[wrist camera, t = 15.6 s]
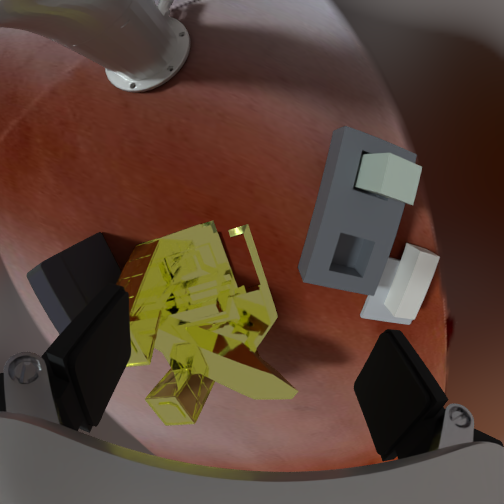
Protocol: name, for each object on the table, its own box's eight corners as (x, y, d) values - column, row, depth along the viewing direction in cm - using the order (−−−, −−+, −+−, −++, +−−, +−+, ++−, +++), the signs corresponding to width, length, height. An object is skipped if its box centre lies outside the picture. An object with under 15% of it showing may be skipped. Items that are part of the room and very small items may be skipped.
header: (333, 130, 32) (345, 125, 27) (398, 155, 33) (416, 154, 28) (297, 267, 38) (303, 282, 33) (361, 281, 38) (373, 296, 33)
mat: (382, 255, 37) (385, 257, 36) (430, 268, 37) (433, 270, 37) (359, 315, 40) (361, 317, 39) (407, 322, 40) (409, 324, 40)
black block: (85, 240, 37) (22, 276, 23) (104, 229, 36) (39, 263, 22) (118, 301, 40) (70, 356, 26) (137, 293, 39) (91, 350, 25)
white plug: (383, 304, 38) (406, 242, 35) (403, 307, 39) (425, 248, 36) (394, 316, 35) (420, 250, 32) (414, 319, 35) (439, 257, 32)
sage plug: (354, 155, 31) (389, 152, 22) (381, 164, 32) (422, 167, 22) (347, 184, 33) (380, 193, 23) (374, 193, 33) (412, 205, 23)
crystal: (188, 374, 44) (168, 444, 29) (122, 242, 37) (60, 286, 22) (292, 352, 42) (305, 428, 27) (243, 200, 35) (234, 225, 20)
